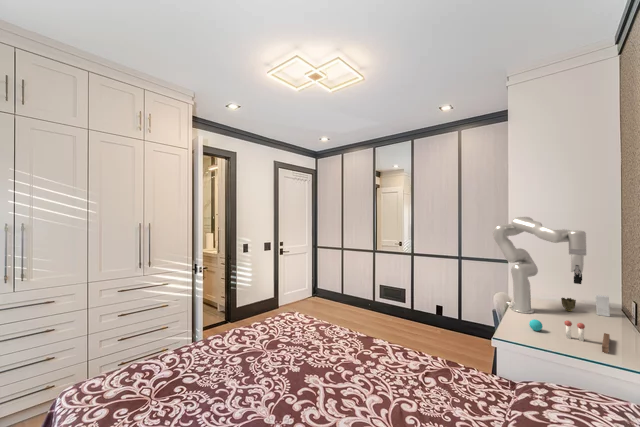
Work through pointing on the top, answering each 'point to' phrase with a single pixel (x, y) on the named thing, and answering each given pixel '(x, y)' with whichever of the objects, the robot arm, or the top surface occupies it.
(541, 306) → the top surface
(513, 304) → the robot arm
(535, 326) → the ball
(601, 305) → the skincare box
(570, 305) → the cup
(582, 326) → the pin
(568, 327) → the pin
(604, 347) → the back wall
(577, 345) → the top surface
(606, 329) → the top surface
